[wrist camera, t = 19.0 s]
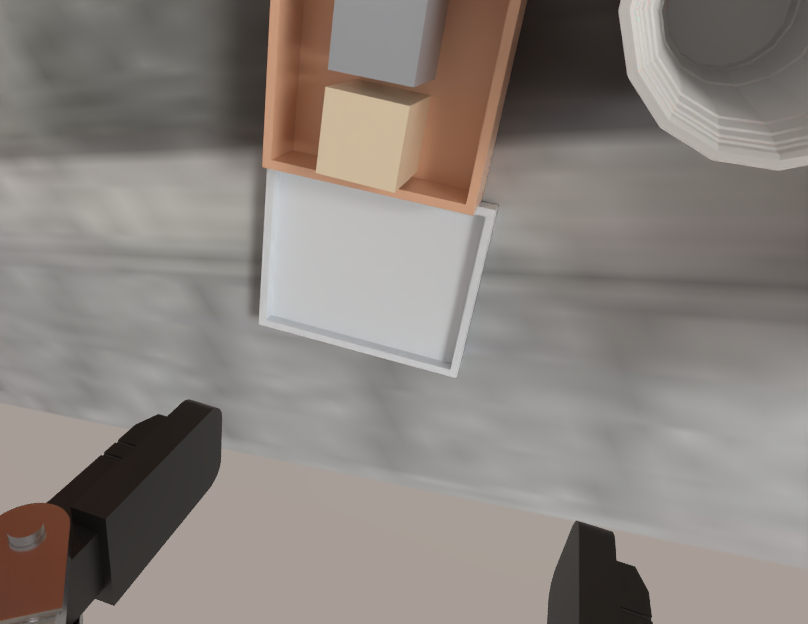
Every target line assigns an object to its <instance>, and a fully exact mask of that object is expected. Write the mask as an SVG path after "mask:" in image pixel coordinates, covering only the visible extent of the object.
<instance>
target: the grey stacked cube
mask: <svg viewBox="0 0 808 624" xmlns="http://www.w3.org/2000/svg"><path fill="white" fill-rule="evenodd" d="M448 3H449V0H335V2H334V13H333V23H332V33H331V43H330V54H329V64H328V70H332V71H337V72H342V73H347V74H352V75H356V76H361V77H366V78H371V79H376V80H381V81H385V82H390V83H395V84H400V85H405V86H410V87H416V86H419V85H421V84H424V83H427V82H430V81H432V80H435V77H436V71H437V66H438V60H439V54H440V49H441V43H442V37H443V32H444V26H445V20H446V15H447V9H448Z"/></svg>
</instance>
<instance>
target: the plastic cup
mask: <svg viewBox="0 0 808 624" xmlns="http://www.w3.org/2000/svg"><path fill="white" fill-rule="evenodd" d="M618 12H619V19H620V26H621V34H622V41H623V48H624V55H625V62H626V69H627V76H628V78H629V80H630V81H631V83H632V84H633V86H634V88H635V89H636V91H637V92H638V94H639V95H640V97H641V99H642V100H643V102H644V103H645V105H646V106H647V108H648V110H649V111H650V113H651V114H652V116H653V117H654V119H655V121H656V122H657V124H658V125H659V127H660V128H661V129H663V130H664V131H666V132H667V133H669V134H671V135H672V136H674V137H675V138H677V139H679V140H680V141H682V142H683V143H685V144H687V145H688V146H690V147H691V148H693V149H695V150H696V151H698V152H699V153H701V154H703V155H704V156H706V157H707V158H709V159H710V160H712V161H719V162H725V163H731V164H738V165H744V166H750V167H757V168H763V169H769V170H776V171H781V170H786V169H791V168H796V167H802V166H807V165H808V0H621V1H620V6H619V10H618Z"/></svg>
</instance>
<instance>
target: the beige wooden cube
mask: <svg viewBox="0 0 808 624" xmlns="http://www.w3.org/2000/svg"><path fill="white" fill-rule="evenodd" d="M430 101H431V96H430V95H426V94H422V93H417V92H413V91H408V90H404V89H400V88H395V87H391V86H386V85H382V84H377V83H373V82H369V81H364V80H360V79H356V80H352V81H348V82H343V83H339V84H335V85H330V86H326V87H325V95H324V104H323V113H322V122H321V131H320V140H319V149H318V157H317V166H316V173H318V174H322V175H326V176H330V177H334V178H338V179H342V180H345V181H349V182H353V183H357V184H361V185H365V186H369V187H373V188H377V189H381V190H385V191H389V192H393V193H395V192H396V191H397V190H398V189H399V188H400V187H401V186H402V185H403V184H404V183H406V182H407V181H408V180H409V179H410V178H411V177H412V176H413V175H414V174H415V173H416V172H417V168H418V163H419V158H420V153H421V147H422V142H423V137H424V132H425V127H426V121H427V116H428V111H429V106H430Z"/></svg>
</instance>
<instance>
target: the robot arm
mask: <svg viewBox="0 0 808 624" xmlns="http://www.w3.org/2000/svg"><path fill="white" fill-rule="evenodd" d="M221 435H222V413H221V410H220V409H219V408H216V407H212V406H209V405H206V404H203V403H199V402H196V401H193V400H185V401H184V402H182V403H181V404H180V405H179V406H178V407H177V408H176V409H175V410H174V411H173V412H172V413H170V414H169V415H168V416H167V417H166V416H163V415H160V414H158V415H156V416H153V417H151V418H149V419H147V420H145V421H142V422H140V423H138V424H136V425H135V426H133V427H132V428H131V429H130V430H129V431H128V432H127V433H126V434H124V435H123V436H122V437H121V438H120V439H119V440H118V442H117V443H114V444H113V445H112V446H111V447H110V448H109V449H108V450H106V451H105V452H104V455H103V456H102V455H101V456H99V457H98V458H97V459H96V460H95V461H94V462H93V463H91V464H90V465H89V466H88V467H87V468H86V469H85V470H84V471H82V472H81V473H80V474H79V475H78V476H77V477H76V478H74V479H73V480H72V481H71V482H70V483H69V484H68V485H66V486H65V487H64V488H63V489H62V490H61V491H60V492H59V493H57V494H56V495H55V496H54V497H53V498H52V499H51V500H50V501H48V502H47V503H33V504H27V505H22V506H19V507H16V508H14V509H11V510H9V511H7V512H5V513H3V514H2V515H0V624H83V612H84V611H85V609H86V608H87V607H88V606H89V605H90V604H91V602H92V601H93V600H94V599H97V600H100V601H103V602H105V603H108V604H111V605H113V606H114V605H115V604H116V603H117V602H118V600H119V599H120V598H121V597H122V595H123V594H124V593H125V592H126V591H127V589H128V588H129V587H130V586H131V584H132V583H133V582H134V581H135V579H136V578H137V577H138V576H139V575H140V573H141V572H142V571H143V570H144V568H145V567H146V566H147V565H148V563H149V562H150V561H151V560H152V558H153V557H154V556H155V555H156V554H157V552H158V551H159V550H160V548H161V547H162V546H163V545H164V544H165V543H166V541H167V540H168V539H169V538H170V536H171V535H172V534H173V533H174V531H175V530H176V529H177V528H178V526H179V525H180V524H181V523H182V522H183V520H184V519H185V518H186V517H187V515H188V514H189V513H190V512H191V510H192V509H193V508H194V507H195V506H196V504H197V503H198V502H199V501H200V499H201V498H202V497H203V496H204V494H205V493H206V492H207V491H208V489H209V488H210V487H211V486H212V484H213V482H214V480H215V478H216V476H217V474H218V471H219V468H220V463H221ZM548 601H549V602H548V618H547V624H653V623H652V621H651V617H652V615H651V607H650V599H649V592H648V590H647V588H646V586H645V584H644V582H643V580H642V579H641V577H640V575H639V573H638V571H637V569H636V568H635V566H631V565H628V564H625V563H622V562H619V561H616V548H615V536H614V534H613V532H612V531H609V530H605V529H602V528H599V527H596V526H592V525H589V524H586V523H583V522H579V521H575V523H574V525H573V526H572V529H571V531H570V534H569V536H568V539H567V541H566V544H565V546H564V549H563V552H562V554H561V556H560V559H559V561H558V564H557V566H556V569H555V572H554V575H553V578H552V582H551V587H550V592H549V600H548Z"/></svg>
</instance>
